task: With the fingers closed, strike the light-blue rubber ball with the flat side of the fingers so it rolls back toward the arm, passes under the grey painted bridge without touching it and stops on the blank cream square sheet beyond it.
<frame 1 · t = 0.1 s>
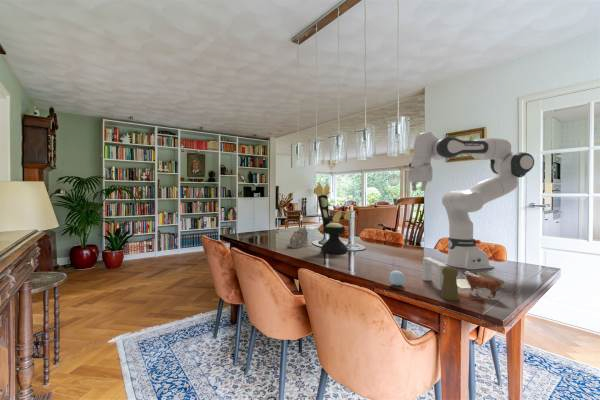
hand: (418, 190, 157), 39 cm above the table, tool pointing down, fingers open, 8 cm apart
blank cream square sheet: (466, 283, 128), on the table
ball: (396, 278, 126), on the table
ceramic cottage: (297, 245, 218), on the table
olive tall rounded piece: (449, 297, 112), on the table
bridge: (434, 284, 127), on the table
stopper: (489, 283, 129), on the table
bull figurine: (479, 296, 114), on the table
candelabra: (330, 252, 195), on the table
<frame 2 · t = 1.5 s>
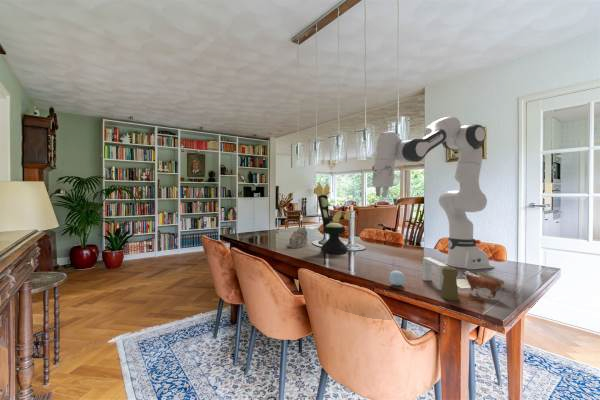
hand: (380, 196, 142), 36 cm above the table, tool pointing down, fingers open, 8 cm apart
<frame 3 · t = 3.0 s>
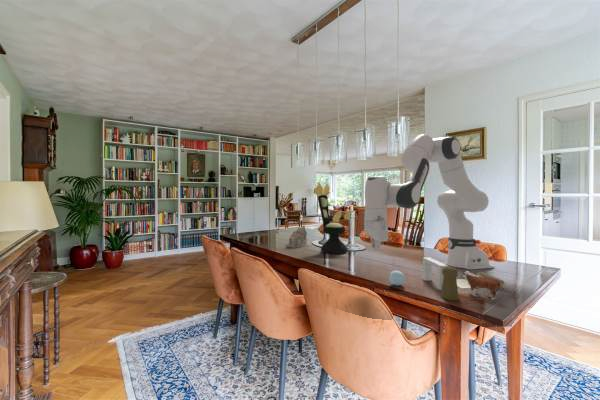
hand: (375, 249, 125), 15 cm above the table, tool pointing down, fingers open, 3 cm apart
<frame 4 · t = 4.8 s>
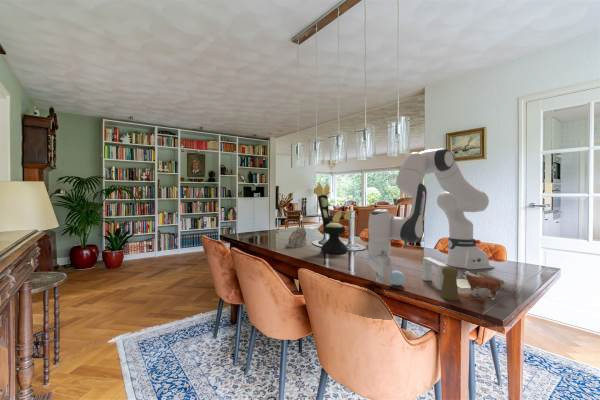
hand: (379, 282, 126), 1 cm above the table, tool pointing down, fingers closed
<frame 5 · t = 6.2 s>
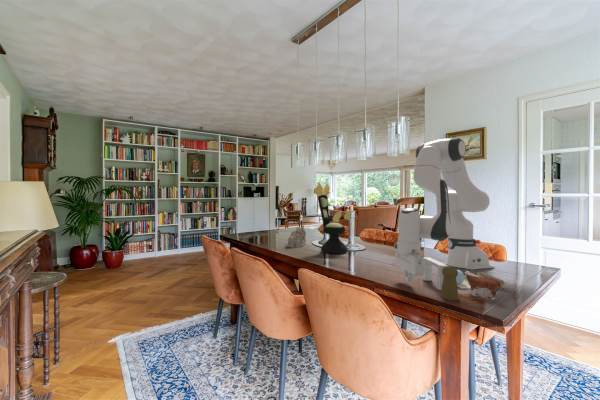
hand: (408, 280, 127), 2 cm above the table, tool pointing down, fingers closed
ball: (456, 276, 128), on the table
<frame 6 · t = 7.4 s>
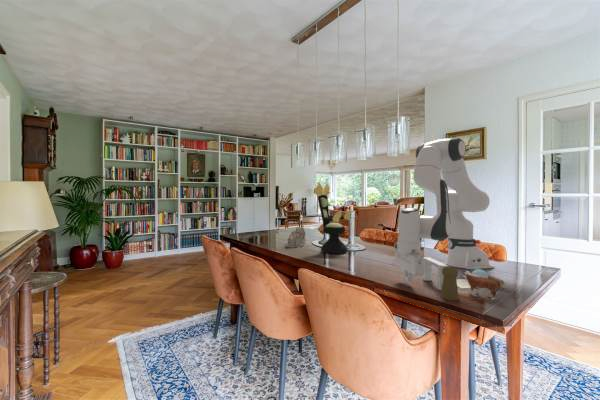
hand: (408, 280, 127), 2 cm above the table, tool pointing down, fingers closed
ball: (479, 276, 128), on the table
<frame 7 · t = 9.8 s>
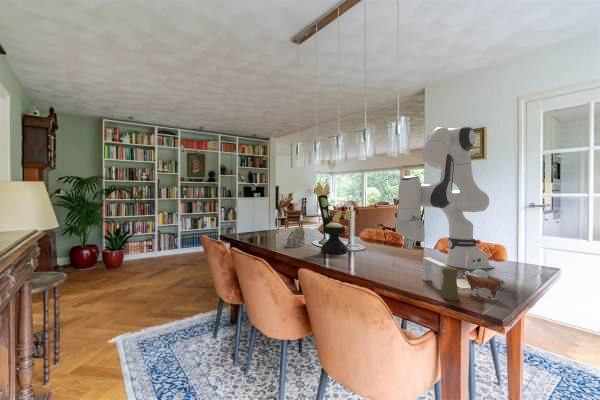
hand: (409, 248, 127), 15 cm above the table, tool pointing down, fingers closed
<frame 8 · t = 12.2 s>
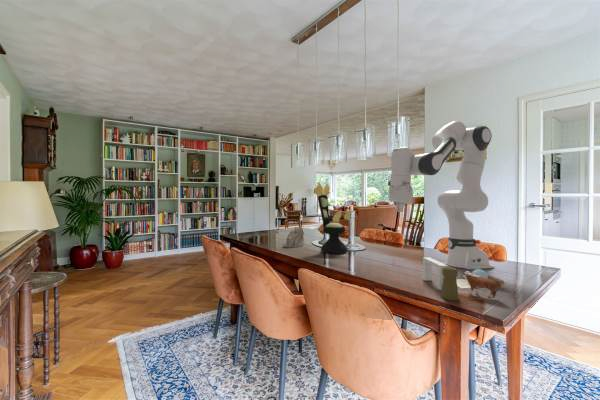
hand: (400, 211, 143), 29 cm above the table, tool pointing down, fingers closed
at the end: ball 5.5 cm from the blank cream square sheet (horizontally); ball never touched bridge; ball at rest at the end (0.0 cm/s) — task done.
